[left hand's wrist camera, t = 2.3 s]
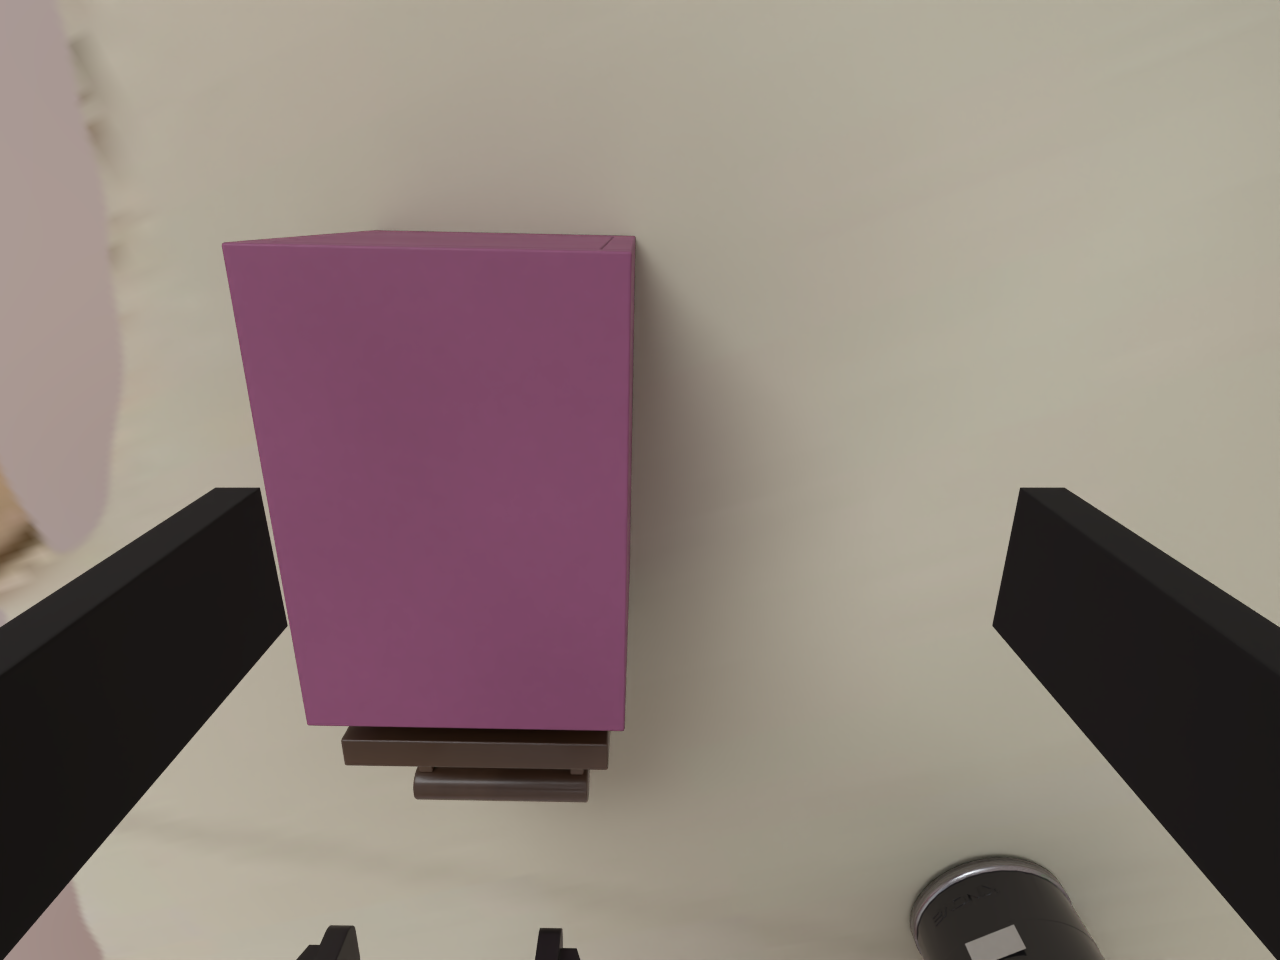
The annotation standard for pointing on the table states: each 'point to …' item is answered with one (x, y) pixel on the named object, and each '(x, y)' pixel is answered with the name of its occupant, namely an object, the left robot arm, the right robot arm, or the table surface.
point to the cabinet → (447, 470)
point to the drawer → (485, 760)
